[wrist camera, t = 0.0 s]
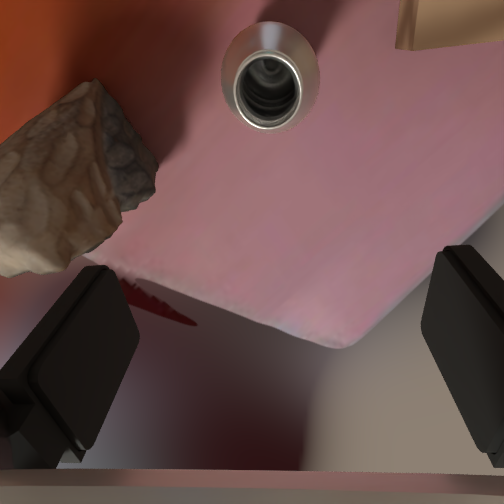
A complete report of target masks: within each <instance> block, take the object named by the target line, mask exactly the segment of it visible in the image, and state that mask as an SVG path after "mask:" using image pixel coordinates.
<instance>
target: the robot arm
mask: <svg viewBox="0 0 504 504" xmlns="http://www.w3.org/2000/svg"><path fill="white" fill-rule="evenodd" d="M421 331H422V334H423V337H424V339H425V341H426V343H427V345H428V347H429V349H430V351H431V353H432V355H433V357H434V359H435V362H436V364H437V366H438V368H439V370H440V372H441V374H442V376H443V378H444V380H445V382H446V384H447V386H448V388H449V391H450V392H451V394H452V397H453V399H454V401H455V403H456V405H457V407H458V409H459V411H460V413H461V415H462V417H463V419H464V421H465V424H466V426H467V428H468V430H469V432H470V434H471V436H472V438H473V440H474V442H475V444H476V446H477V448H478V449H479V450H480V451H481V452H482V453H487V455H488V457H489V459H490V461H491V463H492V465H493V467H494V468H504V280H503V279H502V278H501V277H500V276H499V275H498V274H497V273H496V272H495V270H494V269H493V268H492V267H491V266H490V265H489V264H488V263H487V262H486V261H485V260H484V258H483V257H482V256H481V255H480V254H479V253H478V252H477V251H476V250H475V249H474V248H473V247H472V246H471V245H454V246H446V247H445V248H444V249H443V251H441V252H438V253H437V255H436V258H435V262H434V267H433V271H432V276H431V280H430V284H429V289H428V293H427V298H426V302H425V306H424V311H423V315H422V320H421ZM139 337H140V335H139V330H138V328H137V325H136V323H135V321H134V318H133V316H132V313H131V311H130V308H129V306H128V303H127V301H126V298H125V296H124V293H123V291H122V289H121V286H120V284H119V281H118V279H117V276H116V274H115V272H114V271H113V270H111V269H109V267H107V266H106V265H96V266H86V267H84V268H83V269H82V270H81V272H80V273H79V274H78V275H77V277H76V278H75V279H74V280H73V281H72V283H71V284H70V285H69V286H68V288H67V289H66V290H65V291H64V292H63V294H62V295H61V296H60V297H59V299H58V300H57V301H56V302H55V303H54V305H53V306H52V307H51V309H50V310H49V311H48V312H47V313H46V314H45V316H44V317H43V318H42V320H41V321H40V322H39V323H38V324H37V326H36V327H35V328H34V329H33V330H32V332H31V333H30V334H29V335H28V337H27V338H26V339H25V340H24V341H23V343H22V344H21V345H20V346H19V348H18V349H17V350H16V351H15V352H14V354H13V355H12V356H11V357H10V359H9V360H8V361H7V362H6V364H5V365H4V366H3V367H2V369H1V370H0V504H504V476H491V475H464V474H431V473H377V472H375V473H374V472H372V473H371V472H323V471H256V470H255V471H254V470H253V471H251V470H177V469H176V470H175V469H172V470H171V469H56V467H57V465H58V463H59V461H61V462H62V463H81V462H82V459H83V457H84V455H85V453H86V450H89V449H90V448H91V447H92V446H93V445H94V442H95V441H96V438H97V436H98V433H99V432H100V429H101V427H102V425H103V422H104V420H105V418H106V415H107V413H108V411H109V409H110V406H111V404H112V402H113V400H114V398H115V395H116V393H117V391H118V388H119V386H120V384H121V382H122V379H123V377H124V375H125V372H126V370H127V368H128V366H129V364H130V361H131V359H132V356H133V354H134V352H135V350H136V348H137V345H138V343H139V339H140V338H139Z"/></svg>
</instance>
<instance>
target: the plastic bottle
mask: <svg viewBox="0 0 504 504" xmlns="http://www.w3.org/2000/svg"><path fill="white" fill-rule="evenodd" d="M221 85H222V92H223V95H224V98H225V101H226V103H227V105H228V107H229V108H230V110H231V112H232V113H233V114H234V115H235V117H236V118H237V119H238V120H239V121H240V122H242V123H243V124H244V125H245V126H247V127H249V128H251V129H252V130H255V131H258V132H261V133H269V134H273V133H281V132H284V131H288V130H290V129H291V128H293V127H295V126H297V125H298V124H299V123H300V122H302V121H303V120H304V119H305V117H306V116H307V115H308V114H309V113H310V111H311V109H312V107H313V106H314V104H315V101H316V98H317V95H318V91H319V85H320V71H319V66H318V60H317V58H316V55H315V53H314V50H313V49H312V47H311V45H310V44H309V42H308V41H307V40H306V39H305V37H304V36H303V35H302V34H301V33H300V32H298V31H297V30H295V29H294V28H292V27H291V26H289V25H286V24H283V23H281V22H273V21H266V22H259V23H256V24H253V25H251V26H249V27H247V28H246V29H244V30H243V31H241V32H240V33H239V34H238V35H237V36H236V37H235V38H234V39H233V40H232V42H231V44H230V45H229V47H228V48H227V51H226V53H225V56H224V58H223V62H222V68H221Z"/></svg>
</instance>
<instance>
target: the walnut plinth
mask: <svg viewBox="0 0 504 504" xmlns="http://www.w3.org/2000/svg"><path fill="white" fill-rule="evenodd" d="M502 40H504V0H400V6H399V16H398V25H397V35H396V44H395V49H402V50H410V51H416V50H424V49H433V48H442V47H450V46H459V45H467V44H476V43H485V42H493V41H502Z"/></svg>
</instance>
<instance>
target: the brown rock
mask: <svg viewBox="0 0 504 504" xmlns="http://www.w3.org/2000/svg"><path fill="white" fill-rule="evenodd" d="M157 171H158V164H157V161H156V159H155V157H154V156H153V155H152V153H151V152H150V151H149V150H148V149H147V148H146V147H145V146H144V145H143V143H142V139H141V136H140V135H139V134H138V133H137V132H136V131H135V130H134V129H133V128H132V126H131V124H130V123H129V122H128V121H127V120H126V119H125V116H124V114H123V110H122V108H121V107H120V105H119V104H118V103H117V102H116V101H115V99H114V98H112V97H111V96H110V95H109V94H108V92H107V91H106V90H105V88H104V86H103V85H102V84H101V83H100V82H99V80H97V79H96V78H94V79H93V81H92V82H83V83H81V84H80V85H78V86H77V87H76V88H74V89H73V90H72V91H70V92H69V93H68V94H67V95H65V96H64V97H63V98H61V99H60V100H58V101H57V102H55V103H54V104H53V105H51V106H50V107H49V108H47V109H46V110H44V111H43V112H42V113H40V114H39V115H37V116H35V117H34V118H33V119H31V120H29V121H28V122H27V123H26V124H24V125H23V126H22V127H21V128H20V129H19V130H17V131H16V132H15V133H14V134H12V135H11V136H10V137H9V138H8V139H6V140H5V141H4V142H3V143H2V144H0V275H2V276H5V277H7V278H12V277H15V276H17V275H20V274H23V273H25V272H30V271H31V272H33V273H37V274H41V275H45V274H50V273H56V272H61V271H64V270H65V269H66V268H67V267H68V265H69V263H70V262H71V261H72V260H73V259H75V258H76V257H78V256H80V255H82V254H85V253H89V252H91V251H93V250H94V249H96V248H97V247H98V246H99V245H100V244H102V243H103V242H104V240H106V239H108V238H110V237H111V236H112V234H113V233H114V232H115V231H116V230H117V228H118V226H119V225H120V224H121V223H122V222H123V221H122V216H121V212H125V211H129V210H134V209H137V207H138V205H139V203H140V202H144V201H146V200H148V199H149V198H150V197H151V196H153V194H154V193H155V191H156V189H155V176H156V172H157Z"/></svg>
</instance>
